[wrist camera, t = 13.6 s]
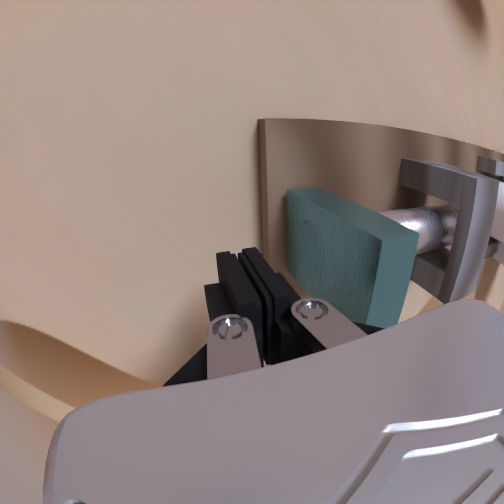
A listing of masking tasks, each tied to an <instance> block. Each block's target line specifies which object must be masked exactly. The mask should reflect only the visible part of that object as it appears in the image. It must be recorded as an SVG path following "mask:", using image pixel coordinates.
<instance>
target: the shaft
mask: <svg viewBox="0 0 504 504" xmlns="http://www.w3.org/2000/svg"><path fill="white" fill-rule="evenodd" d="M458 211H459V206H457V205H455V204H449V205H438V206H428V207H418V208H408V209H399V210H390V211H381V212H375V211H373V210H370V209H368V208H366V207H364V206H362V205H359V204H357V203H355V202H353V201H350V200H348V199H346V198H343V197H341V196H339V195H336V194H334V193H331V192H329V191H327V190H324V189H322V188H319V187H310V188H297V189H287V255H286V269H287V270H288V271H289V273H290V274H291V275H292V276H293V277H294V278H295V279H296V280H297V282H298V283H299V284H300V285H301V286H302V287H303V288H304V290H305V291H306V292H307V293H308V294H309V295H310V296H311V298H317V299H321V300H324V301H326V302H328V303H329V304H330V305H332V306H333V307H334V308H335V309H337V310H338V311H339V312H340V313H341V314H343V315H344V316H345V317H346V318H348V319H349V320H350V321H353V322H357V323H362V324H366V325H371V326H376V327H380V328H384V329H386V328H388V327H391V326H393V325H396V324H397V323H398V320H399V317H400V314H401V310H402V307H403V303H404V300H405V296H406V293H407V289H408V285H409V281H410V277H411V273H412V268H413V264H414V259H415V255H418V254H421V253H425V252H428V251H432V250H435V249H439V248H442V247H446V246H449V245H452V242H453V237H454V232H455V227H456V222H457V217H458Z"/></svg>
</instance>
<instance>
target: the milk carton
mask: <svg viewBox="0 0 504 504" xmlns="http://www.w3.org/2000/svg"><path fill="white" fill-rule="evenodd" d="M492 258H493V259H495V260H497V261H498V262H500V263H502V264H503V265H504V243H503V247H502V250H501V251H499V252H497V253H495V254H493V257H492Z"/></svg>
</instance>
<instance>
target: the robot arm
mask: <svg viewBox="0 0 504 504" xmlns="http://www.w3.org/2000/svg"><path fill="white" fill-rule="evenodd" d="M216 259H217V268H218V277H219V283H215V284H209V285H204V289H205V296H206V302H207V308H208V313H209V318H210V324H209V325H208V328H207V343H206V344H205V345H204V346H203V347H202V348H201V349H200V350H199V351H198V352H197V353H196V354H195V355H194V356H193V357H192V358H191V359H190V360H189V361H188V362H187V363H186V364H185V365H184V366H183V367H182V368H181V369H180V370H179V371H178V372H177V373H176V374H174V375H173V376H172V377H171V378H170V379H169V380H168V381H167V382H166V383H165V384H164V385H163V387H159V388H152V389H145V390H137V391H131V392H126V393H120V394H116V395H111V396H108V397H104V398H101V399H97V400H95V401H93V402H90V403H87V404H85V405H82V406H80V407H78V408H76V409H74V410H73V411H71V412H70V413H68V414H67V415H66V416H65V417H64V418H63V419H62V420H61V421H60V423H59V424H58V425H57V427H56V429H55V431H54V434H53V436H52V440H51V443H50V446H49V450H48V455H47V460H46V467H45V475H44V486H43V504H504V314H502V313H501V312H499V311H498V310H497V309H495V308H494V307H492V306H491V305H489V304H488V303H486V302H484V301H481V300H476V299H463V300H457V301H453V302H449V303H446V304H443V305H441V306H439V307H436V308H434V309H431V310H429V311H426V312H424V313H422V314H419V315H417V316H415V317H412V318H410V319H408V320H405V321H403V322H401V323H398V324H396V325H393V326H391V327H388V328H386V329H384V328H380V327H376V326H371V325H366V324H362V323H357V322H353V321H350V320H349V319H348V318H346V317H345V316H344V315H343V314H341V313H340V312H339V311H338V310H337V309H335V308H334V307H333V306H332V305H330V304H329V303H328V302H326V301H324V300H321V299H317V298H305V299H301V298H300V296H299V295H298V294H297V293H296V291H295V290H294V289H293V288H292V286H291V285H290V284H289V283H288V281H287V280H286V279H285V278H284V276H283V275H282V274H281V273H280V272H277V273H275V272H274V271H273V270H272V268H271V267H270V266H269V264H268V263H267V262H266V260H265V259H264V258H263V256H262V255H261V254H260V252H259V251H258V250H257V249H256V247H252V248H246V249H242V253H238V259H237V257H236V255H235V254H231V253H230V252H229V251H226V252H220V253H216ZM263 358H264V360H265V363H266V364H267V365H269V364H271V366H267V367H264V365H263Z"/></svg>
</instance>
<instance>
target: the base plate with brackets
mask: <svg viewBox="0 0 504 504" xmlns="http://www.w3.org/2000/svg"><path fill="white" fill-rule="evenodd" d="M258 133H259V159H260V187H261V218H262V252H263V258H264V259H265V260H266V262H267V263H268V264H269V266H270V267H271V268H272V270H273V271H274V272H275V273H277V272H280V273H281V274H282V275H283V276H284V278H285V279H286V280H287V281H288V283H289V284H290V285H291V286H292V288H293V289H294V290H295V291H296V293H297V294H298V295H299V296H300V298H301V299H305V298H311V296H310V295H309V294H308V293H307V292H306V291H305V290H304V288H303V287H302V286H301V285H300V284H299V283H298V282H297V280H296V279H295V278H294V277H293V276H292V275H291V274H290V273H289V271H288V270H287V269H286V255H287V189H297V188H310V187H319V188H322V189H324V190H327V191H329V192H331V193H334V194H336V195H339V196H341V197H343V198H346V199H348V200H350V201H353V202H355V203H357V204H359V205H362V206H364V207H366V208H368V209H370V210H373V211H375V212H381V211H390V210H399V209H408V208H418V207H428V206H438V205H449V204H455V205H457V206H459V211H458V217H457V222H456V227H455V232H454V237H453V242H452V245H449V246H446V247H442V248H439V249H435V250H432V251H428V252H425V253H421V254H418V255H415V259H414V264H413V268H412V273H411V277H410V279H411V280H412V281H414V282H415V283H416V284H418V285H419V286H421V287H422V288H423V289H425V290H426V291H428V292H429V293H430V294H432V295H433V296H434V297H436V298H437V299H438V300H440V301H441V302H443V303H444V304H446V303H449V302H453V301H457V300H460V299H462V298H463V297H465V296H467V295H469V294H470V293H472V292H473V291H474V289H475V286H476V283H477V280H478V277H479V274H480V271H481V267H482V264H483V261H484V259H485V258H487V257H489V256H491V255H493V254H495V253H497V252H499V251H501V250H502V247H503V242H501V241H499V240H497V239H495V238H493V237H491V236H490V233H491V229H492V224H493V219H494V214H495V208H496V202H497V196H498V189H499V181H501V182H503V183H504V154H502V153H499V152H496V151H493V150H490V149H486V148H483V147H480V146H476V145H473V144H469V143H466V142H462V141H458V140H454V139H450V138H446V137H441V136H437V135H432V134H427V133H422V132H417V131H412V130H406V129H400V128H394V127H387V126H380V125H372V124H364V123H355V122H344V121H331V120H314V119H258Z"/></svg>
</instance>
